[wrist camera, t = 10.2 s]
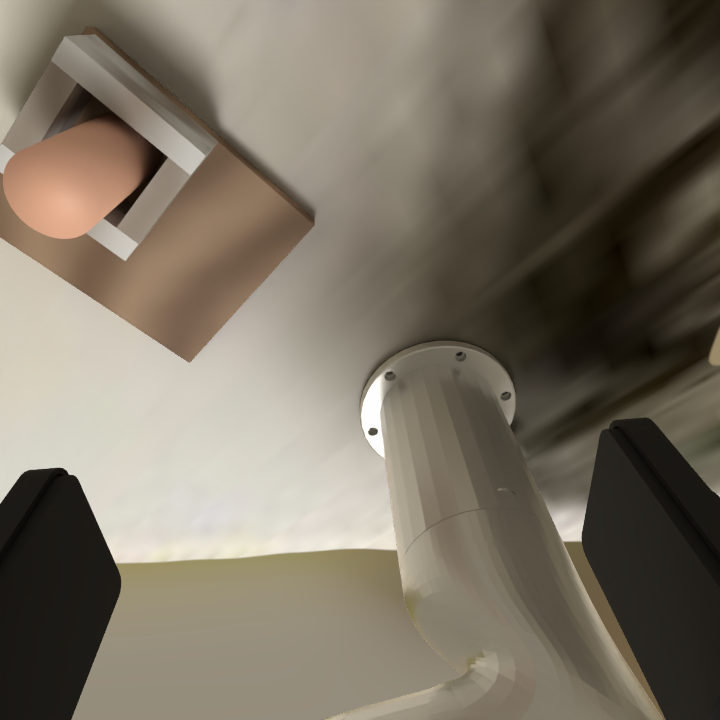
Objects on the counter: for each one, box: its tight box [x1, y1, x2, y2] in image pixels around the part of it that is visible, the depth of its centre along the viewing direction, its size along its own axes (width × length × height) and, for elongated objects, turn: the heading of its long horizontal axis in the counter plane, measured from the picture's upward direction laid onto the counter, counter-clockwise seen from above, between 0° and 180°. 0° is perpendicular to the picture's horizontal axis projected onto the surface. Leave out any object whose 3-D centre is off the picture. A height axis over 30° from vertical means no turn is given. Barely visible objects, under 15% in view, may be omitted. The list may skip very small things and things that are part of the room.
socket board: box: [0, 27, 315, 363], centre depth 34 cm, size 16×14×5 cm
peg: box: [3, 111, 161, 239], centre depth 28 cm, size 4×4×10 cm
